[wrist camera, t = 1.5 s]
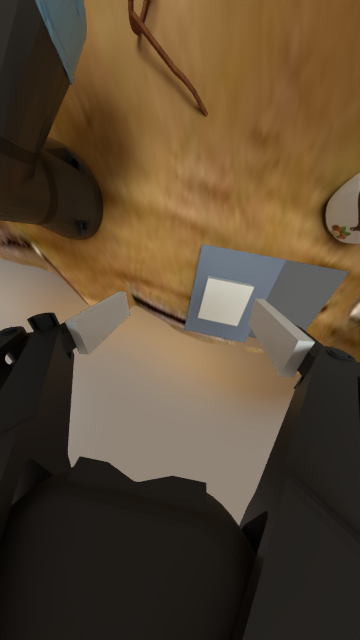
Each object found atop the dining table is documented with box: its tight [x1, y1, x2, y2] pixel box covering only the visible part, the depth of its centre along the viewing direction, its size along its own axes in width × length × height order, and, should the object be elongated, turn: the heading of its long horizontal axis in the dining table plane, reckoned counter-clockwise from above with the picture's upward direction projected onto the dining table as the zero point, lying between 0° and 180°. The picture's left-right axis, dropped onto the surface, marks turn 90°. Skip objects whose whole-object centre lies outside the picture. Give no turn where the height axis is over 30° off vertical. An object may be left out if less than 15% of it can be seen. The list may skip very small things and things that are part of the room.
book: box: [184, 244, 286, 342], centre depth 32 cm, size 16×20×4 cm
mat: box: [248, 260, 349, 338], centre depth 33 cm, size 14×20×1 cm
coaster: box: [198, 276, 254, 326], centre depth 30 cm, size 9×9×2 cm
